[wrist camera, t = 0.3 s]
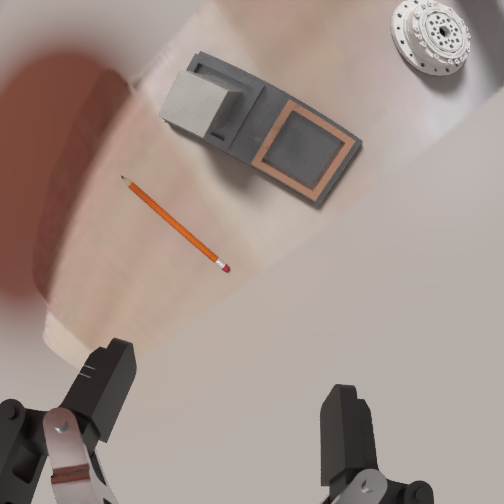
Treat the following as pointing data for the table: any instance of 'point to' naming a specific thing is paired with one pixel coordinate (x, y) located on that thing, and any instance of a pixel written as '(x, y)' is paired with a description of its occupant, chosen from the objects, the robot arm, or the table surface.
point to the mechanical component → (430, 36)
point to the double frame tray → (277, 132)
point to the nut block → (198, 103)
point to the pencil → (176, 225)
